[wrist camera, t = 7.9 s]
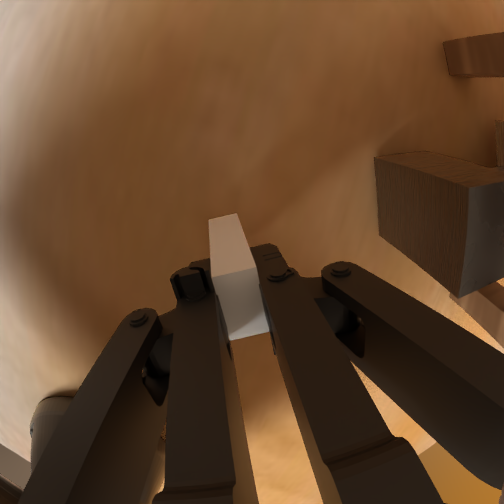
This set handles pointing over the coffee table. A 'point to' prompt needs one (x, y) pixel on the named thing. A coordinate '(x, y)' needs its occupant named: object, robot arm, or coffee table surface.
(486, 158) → the coffee table surface
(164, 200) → the coffee table surface
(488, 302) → the bridge
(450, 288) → the cube and plate dumbbell
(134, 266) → the coffee table surface
